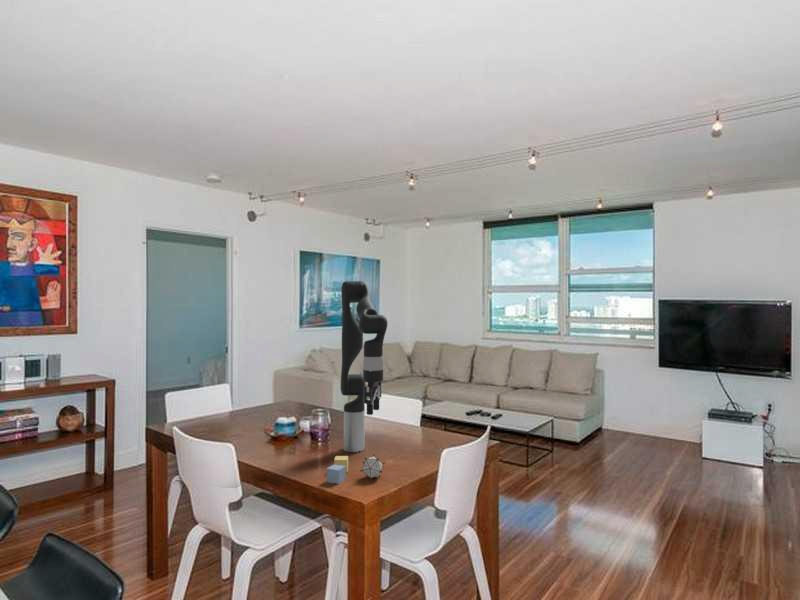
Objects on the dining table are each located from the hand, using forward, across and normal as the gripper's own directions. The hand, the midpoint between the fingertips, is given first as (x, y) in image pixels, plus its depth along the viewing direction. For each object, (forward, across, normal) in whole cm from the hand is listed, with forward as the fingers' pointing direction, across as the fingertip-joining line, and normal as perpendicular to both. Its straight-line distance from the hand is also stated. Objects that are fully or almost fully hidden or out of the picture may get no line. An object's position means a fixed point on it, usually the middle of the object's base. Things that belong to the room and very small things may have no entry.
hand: (373, 412), depth 183 cm
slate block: (+24, +6, -12) cm, 28 cm away
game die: (+24, 0, 0) cm, 24 cm away
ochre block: (+24, -5, -14) cm, 29 cm away
